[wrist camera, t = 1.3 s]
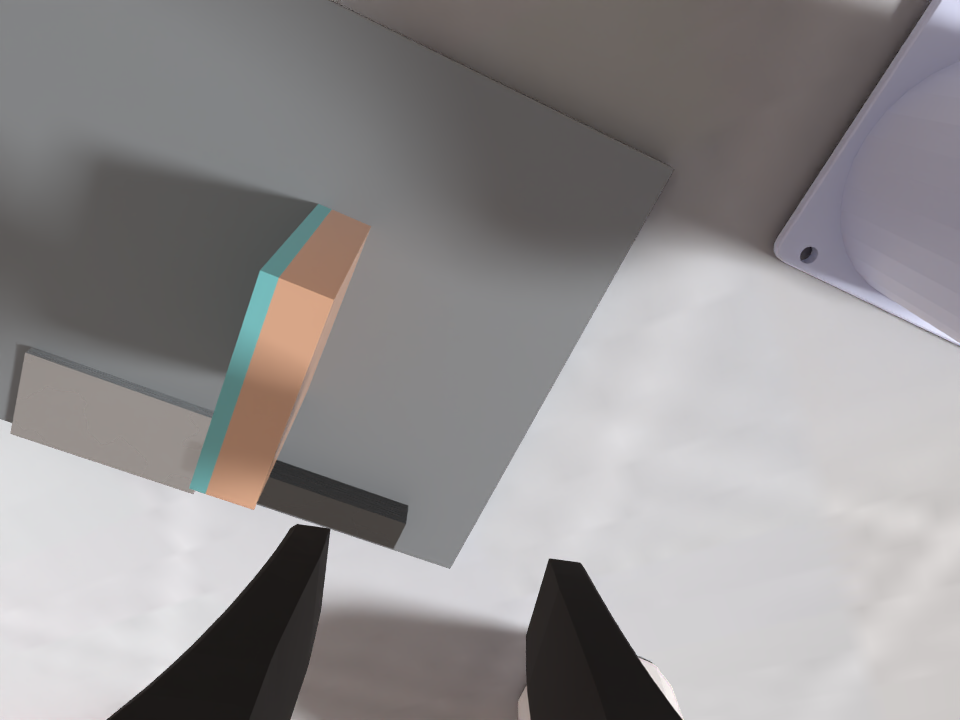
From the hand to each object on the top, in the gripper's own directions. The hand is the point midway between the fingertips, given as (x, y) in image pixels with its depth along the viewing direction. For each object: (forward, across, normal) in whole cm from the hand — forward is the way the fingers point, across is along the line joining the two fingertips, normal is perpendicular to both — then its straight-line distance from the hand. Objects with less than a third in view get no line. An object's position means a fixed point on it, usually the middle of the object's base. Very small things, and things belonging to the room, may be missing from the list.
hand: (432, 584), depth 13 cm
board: (+10, +5, -1) cm, 12 cm away
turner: (+10, +7, +5) cm, 13 cm away
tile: (+10, +4, -1) cm, 11 cm away
